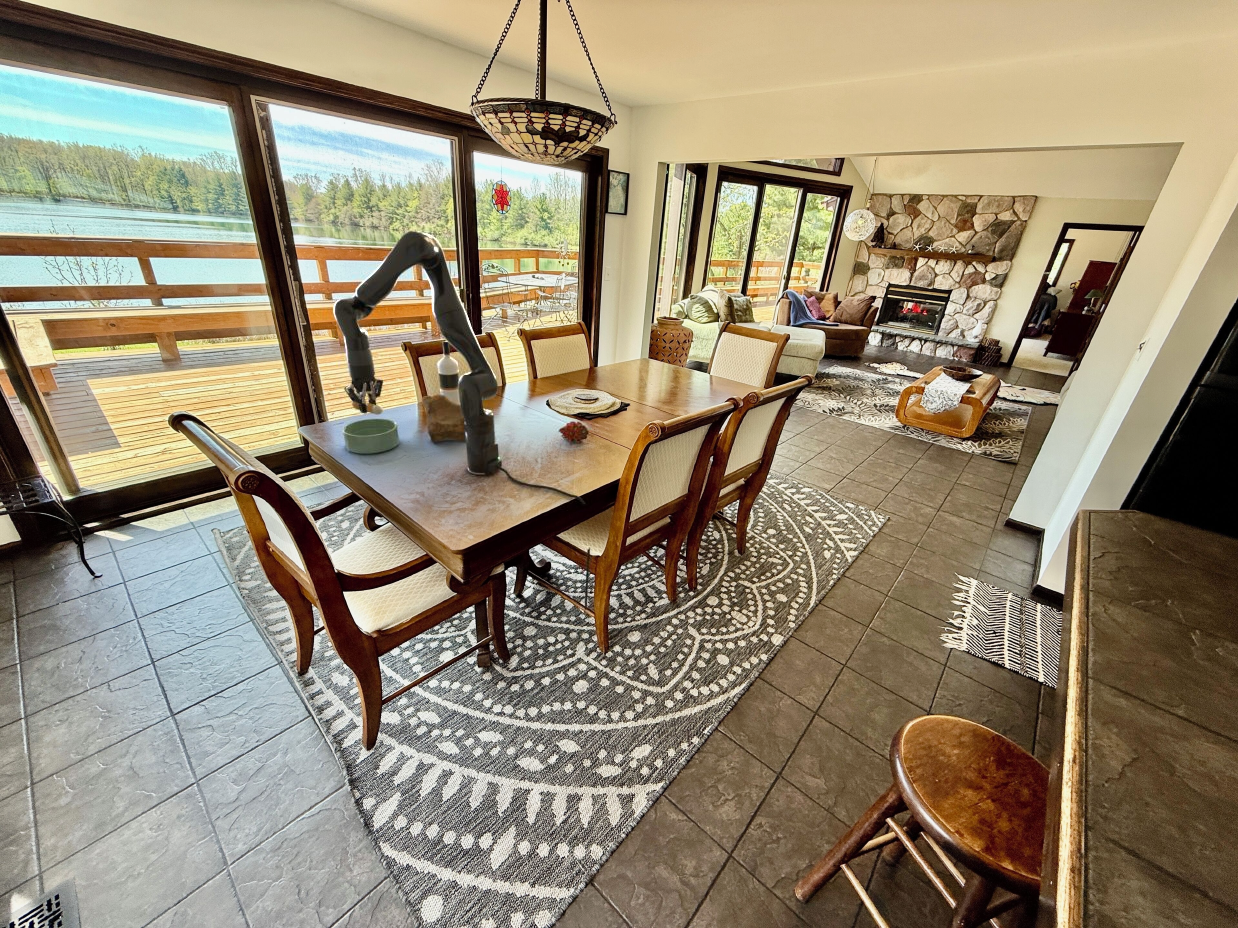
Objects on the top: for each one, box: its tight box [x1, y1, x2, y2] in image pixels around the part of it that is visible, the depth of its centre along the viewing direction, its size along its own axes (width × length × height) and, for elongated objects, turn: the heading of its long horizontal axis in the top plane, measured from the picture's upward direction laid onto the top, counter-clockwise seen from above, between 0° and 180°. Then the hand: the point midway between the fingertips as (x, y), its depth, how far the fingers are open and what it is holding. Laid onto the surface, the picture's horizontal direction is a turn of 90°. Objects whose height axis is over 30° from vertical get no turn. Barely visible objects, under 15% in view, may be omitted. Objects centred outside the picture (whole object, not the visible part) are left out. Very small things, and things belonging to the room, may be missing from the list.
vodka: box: [436, 340, 460, 405], centre depth 203 cm, size 9×9×30 cm
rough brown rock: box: [421, 394, 466, 443], centre depth 179 cm, size 23×17×15 cm
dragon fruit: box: [558, 421, 589, 444], centre depth 186 cm, size 8×8×12 cm
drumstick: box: [351, 399, 384, 416], centre depth 164 cm, size 12×5×5 cm, turn 65°
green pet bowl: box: [342, 418, 400, 455], centre depth 171 cm, size 17×17×7 cm
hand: (368, 411), depth 165 cm, fingers closed on drumstick, 3 cm apart
